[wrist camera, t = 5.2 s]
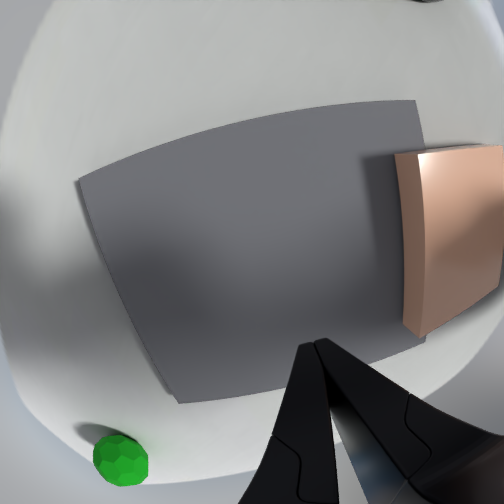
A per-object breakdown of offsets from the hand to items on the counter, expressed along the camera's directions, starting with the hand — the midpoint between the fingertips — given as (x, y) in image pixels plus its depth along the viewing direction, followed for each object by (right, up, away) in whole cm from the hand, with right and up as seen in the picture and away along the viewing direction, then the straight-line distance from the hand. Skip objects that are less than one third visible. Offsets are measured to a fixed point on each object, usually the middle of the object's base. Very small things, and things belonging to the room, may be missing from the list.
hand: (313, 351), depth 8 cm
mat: (0, +2, +6) cm, 6 cm away
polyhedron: (-13, -14, +11) cm, 22 cm away
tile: (+6, +3, +4) cm, 7 cm away
